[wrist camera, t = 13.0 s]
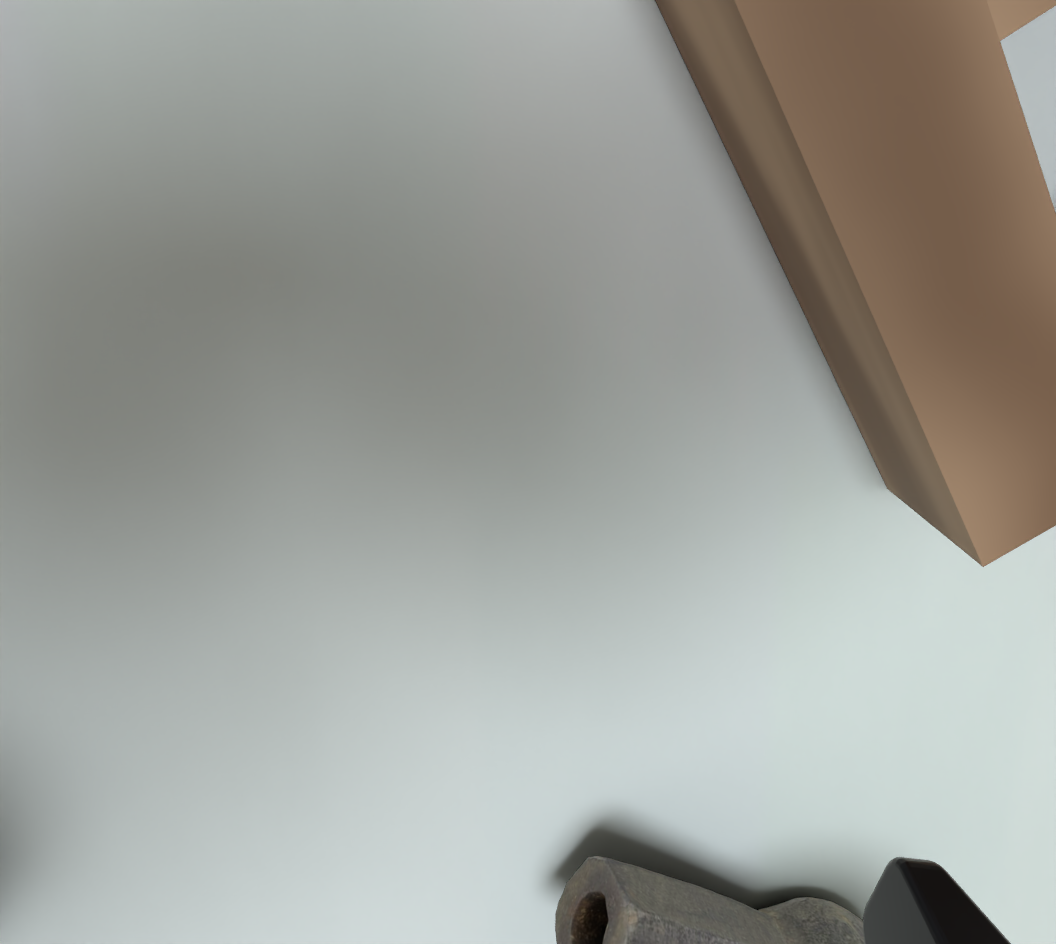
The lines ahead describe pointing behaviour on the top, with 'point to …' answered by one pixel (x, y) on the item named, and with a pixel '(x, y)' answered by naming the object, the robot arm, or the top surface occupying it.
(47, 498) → the top surface
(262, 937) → the top surface
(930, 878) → the robot arm
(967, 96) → the housing
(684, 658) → the top surface
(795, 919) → the pipe
